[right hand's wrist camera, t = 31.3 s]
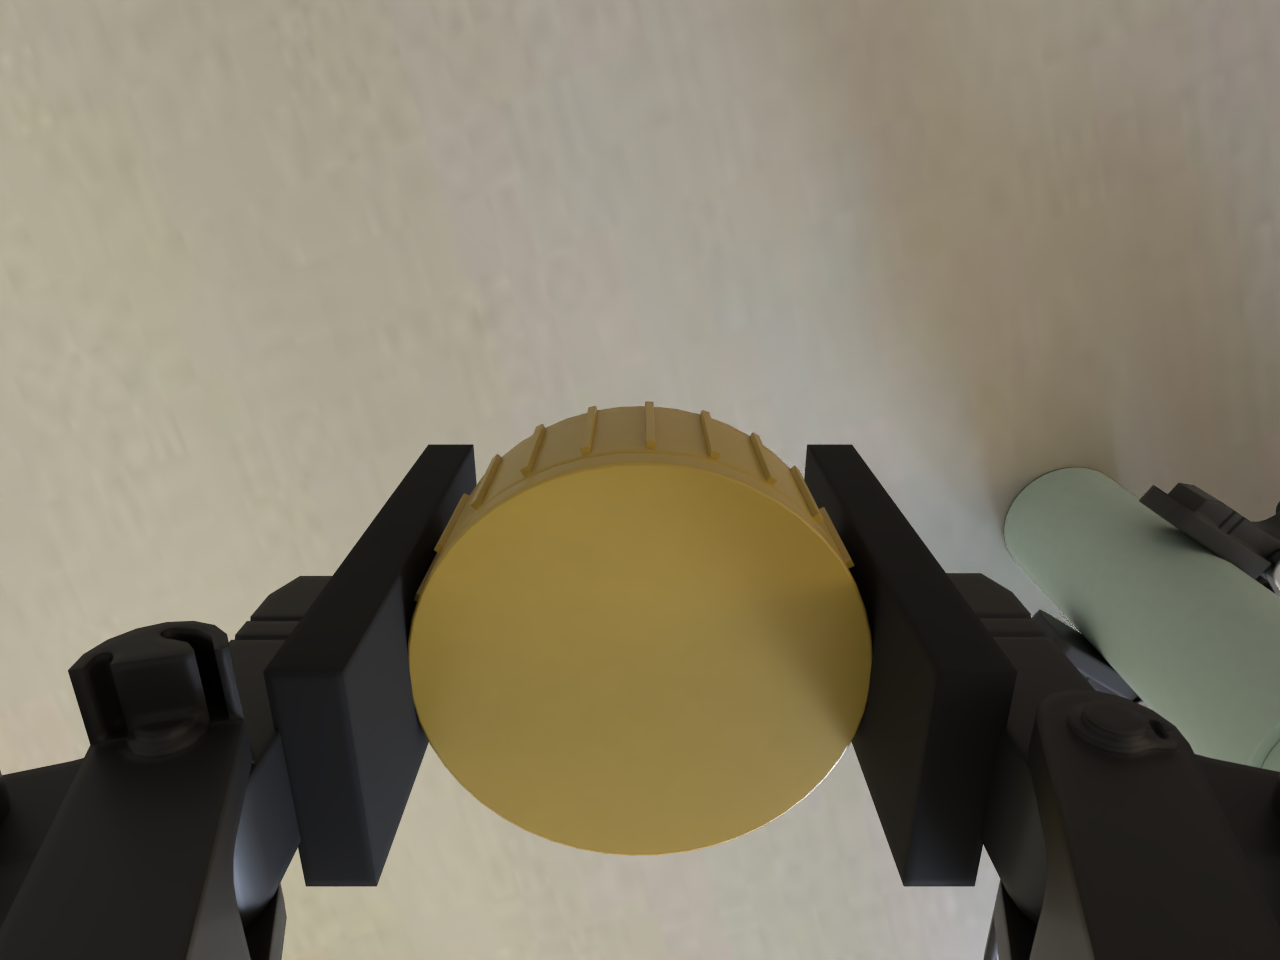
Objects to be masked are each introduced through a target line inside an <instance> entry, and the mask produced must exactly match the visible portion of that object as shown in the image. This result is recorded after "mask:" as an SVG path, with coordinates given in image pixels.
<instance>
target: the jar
mask: <svg viewBox="0 0 1280 960" xmlns="http://www.w3.org/2000/svg"><path fill="white" fill-rule="evenodd" d="M1139 500H1140V499H1139V498H1137V497H1136V496H1135V495H1133V494H1132V493H1130V492H1129V491H1127V490H1126V489H1125V488H1123V487H1122V486H1120V485H1119V484H1118V483H1116V482H1115V481H1113V480H1112V479H1110V478H1109V477H1108V476H1106V475H1105V474H1103V473H1101V472H1098V471H1095V470H1092V469H1088V468H1078V467H1074V468H1065V469H1059V470H1056V471H1053V472H1050V473H1048V474H1045V475H1043V476H1041V477H1040V478H1038V479H1036V480H1035V481H1033V482H1032V483H1030V484H1029V485H1028V486H1027V487H1026V488H1025V489H1024V490H1023V491H1022V492H1021V493H1020V494H1019V495H1018V496H1017V498H1016V499H1015V500H1014V502H1013V503H1012V505H1011V507H1010V509H1009V511H1008V514H1007V516H1006V521H1005V527H1004V538H1005V543H1006V546H1007V549H1008V551H1009V553H1010V555H1011V556H1012V557H1013V559H1014V560H1015V561H1016V562H1017V563H1018V564H1019V566H1020V567H1021V568H1022V569H1023V570H1024V571H1025V572H1026V573H1027V574H1028V575H1029V576H1030V578H1031V579H1032V580H1033V581H1034V582H1035V583H1036V584H1037V585H1038V586H1039V587H1040V588H1041V590H1042V591H1043V592H1044V593H1045V594H1046V595H1047V596H1048V597H1049V598H1050V599H1051V601H1052V602H1053V603H1054V604H1055V605H1056V606H1057V607H1058V608H1059V609H1060V610H1061V611H1062V613H1063V614H1064V615H1065V616H1066V617H1067V618H1068V619H1069V620H1070V621H1071V622H1072V624H1073V625H1074V626H1075V627H1076V628H1077V629H1078V630H1079V631H1080V632H1081V633H1082V634H1083V636H1084V637H1085V638H1086V639H1087V640H1088V641H1089V642H1090V643H1091V644H1092V645H1093V647H1094V648H1095V649H1096V650H1097V651H1098V652H1099V653H1100V654H1101V655H1102V656H1103V657H1104V659H1105V660H1106V661H1107V662H1108V663H1109V664H1110V665H1111V666H1112V667H1113V668H1114V670H1115V671H1116V672H1117V673H1118V674H1119V675H1120V676H1121V677H1122V678H1123V679H1124V680H1125V682H1126V683H1127V684H1128V685H1129V686H1130V687H1131V688H1132V689H1133V690H1134V691H1135V692H1136V694H1137V695H1138V696H1139V697H1140V698H1141V699H1142V700H1143V701H1144V702H1145V703H1146V705H1147V706H1148V707H1149V708H1150V709H1151V710H1153V711H1155V712H1156V713H1158V714H1159V715H1160V716H1162V717H1163V718H1165V719H1166V720H1167V721H1169V722H1170V723H1172V724H1173V725H1175V726H1176V727H1177V729H1178V730H1179V731H1180V732H1181V734H1182V735H1183V736H1184V737H1185V739H1186V740H1187V741H1188V742H1189V744H1190V746H1191V748H1192V750H1193V752H1194V754H1197V755H1201V756H1205V757H1209V758H1213V759H1218V760H1223V761H1228V762H1233V763H1238V764H1243V765H1248V766H1253V767H1258V768H1263V769H1268V770H1273V771H1278V772H1280V597H1279V596H1277V595H1276V594H1274V593H1273V592H1272V591H1270V590H1269V589H1267V588H1266V587H1264V586H1263V585H1262V584H1260V583H1259V582H1257V581H1256V580H1254V579H1253V578H1252V577H1250V576H1249V575H1247V574H1246V573H1244V572H1243V571H1242V570H1240V569H1239V568H1237V567H1236V566H1234V565H1233V564H1232V563H1230V562H1228V561H1226V560H1225V559H1223V558H1222V557H1220V556H1219V555H1217V554H1216V553H1214V552H1213V551H1211V550H1210V549H1208V548H1207V547H1205V546H1204V545H1202V544H1201V543H1199V542H1197V541H1196V540H1194V539H1193V538H1191V537H1190V536H1188V535H1187V534H1185V533H1184V532H1182V531H1181V530H1179V529H1178V528H1176V527H1175V526H1173V525H1172V524H1170V523H1169V522H1168V521H1166V520H1165V519H1163V518H1162V517H1160V516H1159V515H1158V514H1156V513H1155V512H1153V511H1152V510H1150V509H1149V508H1148V507H1146V506H1145V505H1143V504H1142V503H1141V502H1139Z"/></svg>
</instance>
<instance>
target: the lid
mask: <svg viewBox="0 0 1280 960" xmlns="http://www.w3.org/2000/svg"><path fill="white" fill-rule="evenodd" d="M434 551H436V552H437V553H436V555H435V557H434V559H433V561H432V563H431V565H430V567H429V569H428V571H427V573H426V575H425V577H424V579H423V581H422V583H421V585H420V587H419V589H418V591H417V592H416V595H415V599H414V601H417V604H416V607H415V610H414V613H413V616H412V620H411V626H410V632H409V638H408V660H409V669H410V678H411V686H412V694H413V701H414V706H415V709H416V712H417V716H418V719H419V722H420V724H421V726H422V728H423V730H424V732H425V734H426V736H427V738H428V741H429V743H430V745H431V746H432V748H433V749H434V751H435V752H436V754H437V755H438V757H439V758H440V760H441V761H442V763H443V764H444V766H445V767H446V768H447V769H448V770H449V771H450V773H451V774H452V775H453V776H454V777H455V778H456V780H457V781H458V782H459V783H460V784H461V785H462V786H463V787H464V788H465V789H466V790H467V791H468V792H470V793H471V794H472V795H473V796H474V797H475V798H476V799H477V800H479V801H480V802H481V803H482V804H484V805H485V806H486V807H488V808H489V809H491V810H492V811H494V812H495V813H496V814H498V815H499V816H501V817H502V818H504V819H506V820H507V821H509V822H511V823H513V824H515V825H517V826H518V827H520V828H522V829H524V830H526V831H528V832H531V833H533V834H535V835H538V836H540V837H543V838H545V839H548V840H550V841H553V842H556V843H560V844H563V845H567V846H570V847H574V848H577V849H582V850H588V851H593V852H599V853H604V854H616V855H628V856H646V855H665V854H674V853H682V852H688V851H693V850H697V849H702V848H706V847H711V846H715V845H718V844H721V843H724V842H727V841H730V840H733V839H736V838H738V837H741V836H743V835H745V834H747V833H749V832H752V831H754V830H756V829H758V828H760V827H763V826H764V825H766V824H768V823H769V822H771V821H773V820H774V819H776V818H778V817H779V816H781V815H783V814H784V813H786V812H787V811H789V810H790V809H791V808H793V807H794V806H795V805H796V804H798V803H799V802H800V801H802V800H803V799H804V798H806V797H807V796H808V795H809V794H810V793H811V792H812V791H813V790H814V789H815V788H816V787H817V786H818V785H819V784H820V783H821V782H822V781H823V780H824V779H825V778H826V777H827V776H828V774H829V773H830V772H831V771H832V769H833V768H834V767H835V766H836V764H837V763H838V762H839V760H840V759H841V758H842V756H843V754H844V753H845V751H846V749H847V748H848V746H849V744H850V743H851V741H852V739H853V738H854V736H855V733H856V731H857V729H858V726H859V724H860V721H861V719H862V717H863V714H864V711H865V707H866V703H867V697H868V690H869V682H870V674H871V666H872V634H871V630H870V625H869V621H868V616H867V612H866V608H865V605H864V603H863V600H862V598H861V595H860V593H859V590H858V587H857V585H856V583H855V581H854V579H853V577H852V575H851V573H850V571H849V568H851V567H853V566H854V564H853V562H852V559H851V558H850V556H849V554H848V552H847V550H846V548H845V546H844V544H843V542H842V540H841V538H840V536H839V535H838V533H837V531H836V529H835V527H834V525H833V523H832V521H831V519H830V517H829V515H828V513H827V512H826V510H825V508H824V507H822V508H820V509H818V507H817V505H816V503H815V501H814V499H813V497H812V495H811V493H810V491H809V489H808V487H807V485H806V483H805V481H804V479H803V477H802V475H801V473H800V471H799V469H798V468H797V467H796V466H793V467H792V468H791V469H790V468H789V467H788V466H787V465H786V464H785V463H784V462H783V461H782V460H781V459H780V458H779V457H777V456H776V455H775V454H774V453H773V452H772V451H770V450H769V449H768V448H766V447H765V446H763V444H762V442H761V439H760V437H759V436H758V435H757V434H755V433H752V434H751V436H749V435H747V434H745V433H743V432H741V431H739V430H737V429H735V428H734V427H732V426H730V425H728V424H725V423H722V422H720V421H717V420H714V419H712V418H711V417H710V414H709V412H706V411H703V410H702V411H701V414H695V413H691V412H687V411H682V410H678V409H671V408H661V407H654V405H653V402H645V406H639V407H617V408H611V409H604V410H597V407H596V406H593V407H589V408H588V413H585V414H582V415H578V416H574V417H571V418H567V419H565V420H563V421H560V422H558V423H556V424H553V425H551V426H549V427H547V428H545V427H544V425H543V424H541V425H539V426H537V427H536V429H535V431H534V434H533V435H532V436H530V437H529V438H527V439H525V440H524V441H522V442H520V443H519V444H518V445H516V446H515V447H514V448H513V449H511V450H510V451H509V452H508V453H506V454H505V455H504V456H503V457H500V456H499V455H498V454H497V455H496V456H495V457H493V459H492V461H491V463H490V465H489V467H488V469H487V471H486V473H485V475H484V476H483V477H482V478H481V480H480V481H479V483H478V484H477V486H476V487H475V488H474V490H473V491H472V493H471V494H470V495H467V494H465V493H464V494H463V496H462V497H461V499H460V501H459V503H458V505H457V507H456V509H455V511H454V512H453V514H452V516H451V518H450V520H449V522H448V524H447V526H446V528H445V530H444V532H443V533H442V535H441V537H440V539H439V541H438V543H437V545H436V547H435V549H434Z"/></svg>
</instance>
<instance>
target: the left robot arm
mask: <svg viewBox="0 0 1280 960" xmlns="http://www.w3.org/2000/svg"><path fill="white" fill-rule="evenodd" d="M1139 502H1141V503H1142V504H1143V505H1145V506H1146V507H1148V508H1149V509H1150V510H1152V511H1153V512H1155V513H1156V514H1158V515H1159V516H1160V517H1162V518H1163V519H1165V520H1166V521H1168V522H1169V523H1170V524H1172V525H1173V526H1175V527H1176V528H1178V529H1179V530H1181V531H1182V532H1184V533H1185V534H1187V535H1188V536H1190V537H1191V538H1193V539H1194V540H1196V541H1197V542H1199V543H1201V544H1202V545H1204V546H1205V547H1207V548H1208V549H1210V550H1211V551H1213V552H1214V553H1216V554H1217V555H1219V556H1220V557H1222V558H1223V559H1225V560H1226V561H1228V562H1230V563H1232V564H1233V565H1234V566H1236V567H1237V568H1239V569H1240V570H1242V571H1243V572H1244V573H1246V574H1247V575H1249V576H1250V577H1252V578H1253V579H1254V580H1256V581H1257V582H1259V583H1260V584H1262V585H1263V586H1264V587H1266V588H1267V589H1269V590H1270V591H1272V592H1273V593H1274V594H1276V595H1277V596H1279V597H1280V502H1279V503H1278V505H1277V508H1276V515H1274V516H1272V517H1271V518H1269V519H1266V520H1264V521H1259V522H1251V521H1249V520H1247V519H1246V518H1244V517H1243V516H1241V515H1240V514H1239V513H1237V512H1236V511H1234V510H1233V509H1231V508H1230V507H1228V506H1227V505H1225V504H1224V503H1222V502H1221V501H1219V500H1217V499H1216V498H1214V497H1212V496H1211V495H1209V494H1208V493H1206V492H1204V491H1203V490H1201V489H1199V488H1198V487H1196V486H1194V485H1189V484H1183V483H1178V484H1177V485H1176V486H1175V487H1174V488H1173V489H1172V490H1171V492H1170V493H1169V494H1166V493H1165V492H1163V491H1162V490H1160V489H1159V488H1157V487H1156V486H1154V485H1153V486H1152V487H1151V488H1150V489H1149V490H1148V491H1147V492H1146V493H1145V494H1144V496H1143V497H1142V498H1141V499H1140V500H1139ZM1032 618H1034V619H1035V620H1036V621H1037V622H1038V623H1039V625H1040V626H1041V627H1042V628H1043V629H1044V630H1045V632H1046V637H1051V639H1052V640H1053V641H1054V642H1055V643H1056V645H1057V646H1058V647H1059V648H1060V649H1061V650H1062V652H1063V653H1064V654H1065V655H1066V656H1067V657H1068V659H1069V660H1070V661H1071V662H1072V663H1073V664H1074V666H1075V667H1076V668H1077V669H1078V670H1079V672H1080V673H1081V674H1082V675H1083V676H1084V677H1085V679H1086V680H1087V681H1088V682H1089V683H1090V684H1091V686H1092V687H1093V688H1094V689H1095V690H1096V691H1100V692H1104V693H1108V694H1112V695H1116V696H1120V697H1124V698H1127V699H1129V700H1131V701H1133V702H1136V703H1138V704H1140V705H1142V706H1145V707H1147V708H1149V707H1148V706H1147V705H1146V703H1145V702H1144V701H1143V700H1142V699H1141V698H1140V697H1139V696H1138V695H1137V694H1136V692H1135V691H1134V690H1133V689H1132V688H1131V687H1130V686H1129V685H1128V684H1127V683H1126V682H1125V680H1124V679H1123V678H1122V677H1121V676H1120V675H1119V674H1118V673H1117V672H1116V671H1115V670H1114V668H1113V667H1112V666H1111V665H1110V664H1109V663H1108V662H1107V661H1106V660H1105V659H1104V657H1103V656H1102V655H1101V654H1100V653H1099V652H1098V651H1097V650H1096V649H1095V648H1094V647H1093V645H1092V644H1091V643H1090V642H1089V641H1088V640H1087V639H1086V638H1085V637H1084V636H1083V635H1082V634H1081V633H1079V632H1077V631H1076V630H1074V629H1072V628H1071V627H1069V626H1067V625H1066V624H1064V623H1062V622H1061V621H1059V620H1057V619H1056V618H1054V617H1052V616H1051V615H1049V614H1047V613H1046V612H1044V611H1042V610H1038V612H1037V613H1036V614H1035V615H1034V616H1033V617H1032ZM1149 709H1150V708H1149Z"/></svg>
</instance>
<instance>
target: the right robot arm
mask: <svg viewBox="0 0 1280 960" xmlns="http://www.w3.org/2000/svg"><path fill="white" fill-rule="evenodd" d="M804 481H805V483H806V485H807V487H808V489H809V491H810V493H811V495H812V497H813V499H814V501H815V503H816V505H817V507H818V509H820V508H822V507H824V508H825V510H826V512H827V513H828V515H829V517H830V519H831V521H832V523H833V525H834V527H835V529H836V531H837V533H838V535H839V536H840V538H841V540H842V542H843V544H844V546H845V548H846V550H847V552H848V554H849V556H850V558H851V559H852V562H853V564H854V566H853V567H851V568H849V571H850V573H851V575H852V577H853V579H854V581H855V583H856V585H857V587H858V590H859V593H860V595H861V598H862V600H863V603H864V605H865V608H866V612H867V616H868V621H869V625H870V630H871V634H872V666H871V674H870V682H869V690H868V697H867V703H866V707H865V711H864V714H863V717H862V719H861V721H860V724H859V726H858V729H857V731H856V733H855V736H854V738H853V739H852V744H853V747H854V749H855V752H856V755H857V758H858V760H859V763H860V766H861V769H862V772H863V774H864V777H865V780H866V783H867V785H868V788H869V791H870V794H871V796H872V799H873V802H874V805H875V808H876V810H877V813H878V816H879V819H880V821H881V824H882V827H883V830H884V833H885V835H886V838H887V841H888V844H889V846H890V849H891V852H892V855H893V858H894V860H895V863H896V866H897V869H898V871H899V874H900V877H901V880H902V883H903V885H904V886H975V882H976V877H977V872H978V867H979V862H980V857H981V852H982V847H983V845H984V847H985V849H986V851H987V853H988V855H989V857H990V859H991V861H992V863H993V865H994V867H995V869H996V871H997V873H998V875H999V877H1000V884H999V888H998V893H997V897H996V902H995V907H994V911H993V916H992V921H991V925H990V930H989V935H988V939H987V944H986V949H985V954H984V960H997V955H998V956H999V960H1280V772H1278V771H1273V770H1268V769H1263V768H1258V767H1253V766H1248V765H1243V764H1238V763H1233V762H1228V761H1223V760H1218V759H1213V758H1209V757H1205V756H1201V755H1197V754H1194V752H1193V750H1192V748H1191V746H1190V744H1189V742H1188V741H1187V740H1186V739H1185V737H1184V736H1183V735H1182V734H1181V732H1180V731H1179V730H1178V729H1177V727H1176V726H1175V725H1173V724H1172V723H1170V722H1169V721H1167V720H1166V719H1165V718H1163V717H1162V716H1160V715H1159V714H1158V713H1156V712H1155V711H1153V710H1151V709H1149V708H1147V707H1145V706H1142V705H1140V704H1138V703H1136V702H1133V701H1131V700H1129V699H1127V698H1124V697H1120V696H1116V695H1112V694H1108V693H1104V692H1100V691H1096V690H1095V689H1094V688H1093V687H1092V686H1091V684H1090V683H1089V682H1088V681H1087V680H1086V679H1085V677H1084V676H1083V675H1082V674H1081V673H1080V672H1079V670H1078V669H1077V668H1076V667H1075V666H1074V664H1073V663H1072V662H1071V661H1070V660H1069V659H1068V657H1067V656H1066V655H1065V654H1064V653H1063V652H1062V650H1061V649H1060V648H1059V647H1058V646H1057V645H1056V643H1055V642H1054V641H1053V640H1052V639H1051V637H1046V632H1045V630H1044V629H1043V628H1042V627H1041V626H1040V625H1039V623H1038V622H1037V621H1036V620H1035V619H1034V618H1031V614H1030V613H1029V612H1028V610H1027V609H1026V608H1025V607H1024V606H1023V605H1022V603H1021V602H1020V601H1019V600H1018V599H1017V597H1016V596H1015V595H1014V594H1013V593H1012V592H1011V591H1009V590H1008V589H1006V588H1004V587H1003V586H1001V585H999V584H998V583H996V582H994V581H993V580H991V579H989V578H988V577H986V576H984V575H983V574H981V573H945V571H944V570H943V569H942V567H941V566H940V565H939V563H938V562H937V560H936V559H935V558H934V556H933V555H932V554H931V552H930V551H929V549H928V548H927V547H926V545H925V544H924V543H923V541H922V540H921V538H920V537H919V536H918V534H917V533H916V532H915V530H914V529H913V528H912V526H911V525H910V523H909V522H908V521H907V519H906V518H905V517H904V515H903V514H902V512H901V511H900V510H899V508H898V507H897V506H896V504H895V503H894V502H893V500H892V499H891V497H890V496H889V495H888V493H887V492H886V491H885V489H884V488H883V486H882V485H881V484H880V482H879V481H878V480H877V478H876V477H875V476H874V474H873V473H872V471H871V470H870V469H869V467H868V466H867V465H866V463H865V462H864V460H863V459H862V458H861V456H860V455H859V454H858V452H857V451H856V450H855V448H854V447H853V445H807V454H806V466H805V479H804ZM476 486H477V485H476V473H475V460H474V447H473V445H428V446H427V447H426V449H425V450H424V452H423V453H422V454H421V456H420V457H419V458H418V460H417V461H416V463H415V464H414V465H413V467H412V468H411V469H410V471H409V472H408V474H407V475H406V476H405V478H404V479H403V480H402V482H401V483H400V484H399V486H398V487H397V489H396V490H395V491H394V493H393V494H392V495H391V497H390V498H389V500H388V501H387V502H386V504H385V505H384V506H383V508H382V509H381V510H380V512H379V513H378V515H377V516H376V517H375V519H374V520H373V521H372V523H371V524H370V526H369V527H368V528H367V530H366V531H365V532H364V534H363V535H362V537H361V538H360V539H359V541H358V542H357V543H356V545H355V546H354V547H353V549H352V550H351V552H350V553H349V554H348V556H347V557H346V558H345V560H344V561H343V563H342V564H341V565H340V567H339V568H338V569H337V571H336V572H335V573H334V575H333V576H299V577H298V578H296V579H294V580H293V581H291V582H290V583H288V584H286V585H285V586H283V587H281V588H280V589H278V590H276V591H275V592H273V593H271V594H270V595H269V596H268V597H267V598H266V599H265V600H264V602H263V603H262V604H261V605H260V606H259V607H258V609H257V610H256V611H255V612H254V613H253V615H252V616H251V620H250V621H247V622H246V623H245V624H244V625H243V626H242V628H241V629H240V630H239V631H238V632H237V634H236V635H235V640H231V641H230V642H228V637H227V634H226V633H225V632H223V631H222V630H221V629H219V628H218V627H217V626H215V625H212V624H207V623H201V622H196V621H182V622H165V623H161V624H156V625H151V626H147V627H142V628H138V629H135V630H132V631H129V632H127V633H124V634H121V635H119V636H116V637H114V638H111V639H108V640H106V641H105V642H103V643H101V644H100V645H98V646H96V647H95V648H93V649H91V650H90V651H88V652H86V653H85V654H83V655H82V656H81V657H80V658H79V659H78V660H77V662H76V663H75V664H74V665H73V666H72V667H71V668H70V669H69V670H68V672H69V675H70V679H71V682H72V685H73V689H74V692H75V695H76V698H77V702H78V705H79V708H80V712H81V715H82V718H83V722H84V725H85V728H86V731H87V735H88V738H89V741H90V747H89V749H88V751H87V753H86V755H85V757H84V758H82V759H78V760H75V761H71V762H66V763H61V764H56V765H51V766H46V767H41V768H36V769H31V770H26V771H21V772H16V773H11V774H7V775H2V774H1V771H0V960H281V958H282V950H283V942H284V934H285V926H286V918H287V917H286V910H285V903H284V897H283V893H282V888H281V884H280V882H281V880H282V878H283V876H284V874H285V872H286V870H287V868H288V866H289V864H290V862H291V860H292V858H293V856H294V854H295V852H296V850H297V848H298V849H299V854H300V859H301V864H302V869H303V874H304V879H305V884H306V886H377V884H378V881H379V878H380V876H381V873H382V870H383V867H384V865H385V862H386V859H387V856H388V853H389V851H390V848H391V845H392V842H393V840H394V837H395V834H396V831H397V828H398V826H399V823H400V820H401V817H402V815H403V812H404V809H405V806H406V803H407V801H408V798H409V795H410V792H411V790H412V787H413V784H414V781H415V778H416V776H417V773H418V770H419V767H420V765H421V762H422V759H423V756H424V753H425V751H426V748H427V745H428V742H429V741H428V738H427V736H426V734H425V732H424V730H423V728H422V726H421V724H420V722H419V719H418V716H417V712H416V709H415V706H414V701H413V694H412V686H411V678H410V669H409V660H408V638H409V632H410V626H411V620H412V616H413V613H414V610H415V607H416V604H417V601H414V599H415V595H416V592H417V591H418V589H419V587H420V585H421V583H422V581H423V579H424V577H425V575H426V573H427V571H428V569H429V567H430V565H431V563H432V561H433V559H434V557H435V555H436V553H437V552H436V551H434V549H435V547H436V545H437V543H438V541H439V539H440V537H441V535H442V533H443V532H444V530H445V528H446V526H447V524H448V522H449V520H450V518H451V516H452V514H453V512H454V511H455V509H456V507H457V505H458V503H459V501H460V499H461V497H462V496H463V494H464V493H465V494H467V495H470V494H471V493H472V491H473V490H474V488H475V487H476Z"/></svg>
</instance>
